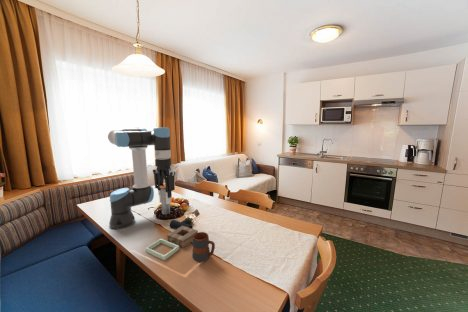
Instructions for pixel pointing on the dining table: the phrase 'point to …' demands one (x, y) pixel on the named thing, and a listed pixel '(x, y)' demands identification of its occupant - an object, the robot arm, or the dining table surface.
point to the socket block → (181, 236)
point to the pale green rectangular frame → (161, 256)
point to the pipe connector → (182, 223)
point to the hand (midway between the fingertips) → (165, 202)
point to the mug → (202, 247)
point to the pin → (164, 200)
